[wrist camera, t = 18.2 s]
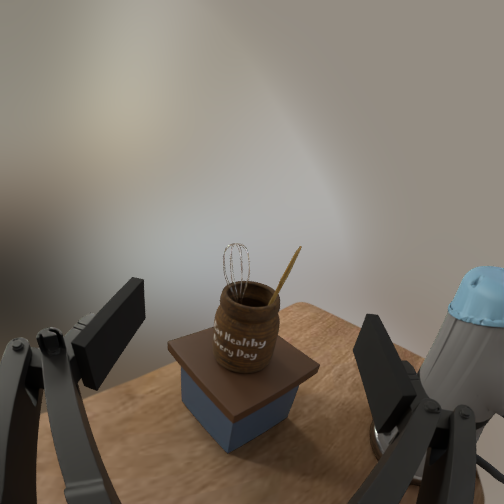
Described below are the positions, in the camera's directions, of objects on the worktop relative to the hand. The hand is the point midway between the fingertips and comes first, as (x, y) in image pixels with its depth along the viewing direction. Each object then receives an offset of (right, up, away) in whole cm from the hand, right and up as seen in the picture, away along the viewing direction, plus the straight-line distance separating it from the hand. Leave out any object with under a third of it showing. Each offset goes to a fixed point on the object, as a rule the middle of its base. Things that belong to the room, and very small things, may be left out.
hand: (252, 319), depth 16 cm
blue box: (-2, -15, +14) cm, 21 cm away
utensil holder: (-1, -7, +11) cm, 13 cm away
